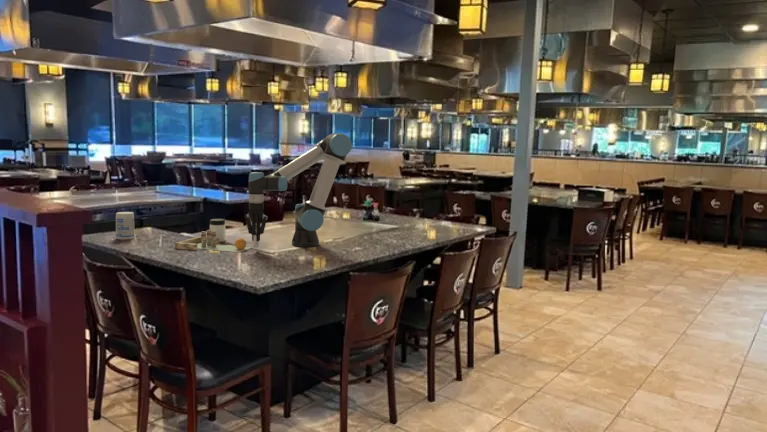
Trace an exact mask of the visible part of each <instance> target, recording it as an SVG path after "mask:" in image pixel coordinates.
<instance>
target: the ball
mask: <svg viewBox="0 0 767 432" xmlns="http://www.w3.org/2000/svg"><path fill="white" fill-rule="evenodd" d="M234 246H235V247H236V248H237V249H239V250H242V249H244V248H245V247H247V241H246V240H245V239H244V238H240V237H239V238H238V239H236V240H235V242H234Z"/></svg>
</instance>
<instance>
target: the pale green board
mask: <svg viewBox="0 0 767 432" xmlns="http://www.w3.org/2000/svg"><path fill="white" fill-rule="evenodd" d="M250 249H253V247H252V246H246V247H245V248H244V249H242V250H239V249H237V248H236V247H235V245H231V244H229V245H227V244H219V243H218V244H216V247H212V243H211V246H207V243H206V247H201V243H197V250H207V251H208V250H209V251H216V252H217V251H219V252H230V253H242V252H244V251H248V250H250Z"/></svg>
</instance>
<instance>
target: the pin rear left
mask: <svg viewBox="0 0 767 432" xmlns="http://www.w3.org/2000/svg"><path fill="white" fill-rule="evenodd" d="M200 236H201V247H206V237H207V230H206V231H204V230H202V231H201V233H200Z"/></svg>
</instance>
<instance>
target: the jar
mask: <svg viewBox="0 0 767 432" xmlns="http://www.w3.org/2000/svg"><path fill="white" fill-rule="evenodd" d="M209 230H211V231H216V238H219V243H220V242H225V241H226V219H225V218H212V219H210V220H209Z"/></svg>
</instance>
